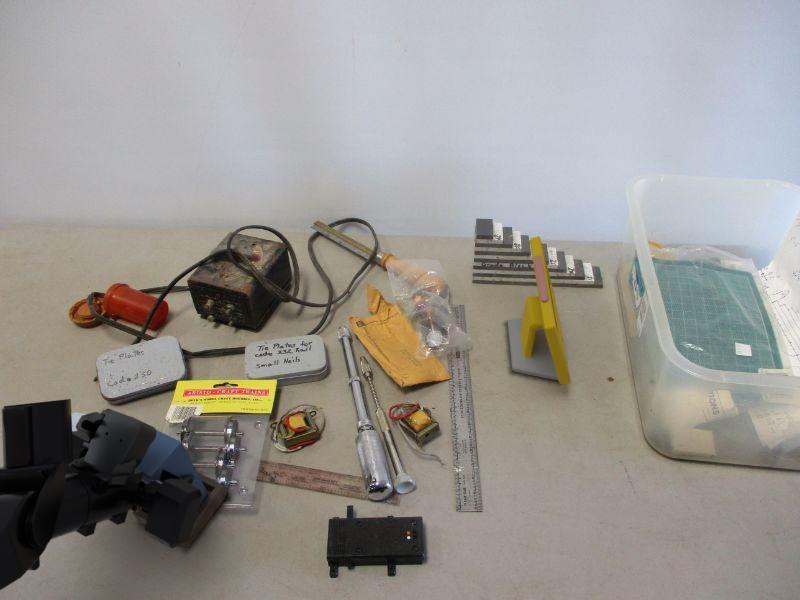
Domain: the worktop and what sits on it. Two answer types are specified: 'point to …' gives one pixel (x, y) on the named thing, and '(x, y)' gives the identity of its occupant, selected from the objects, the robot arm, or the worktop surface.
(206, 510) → the base pad
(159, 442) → the blue faceted prism
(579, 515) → the worktop surface
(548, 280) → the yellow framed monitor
